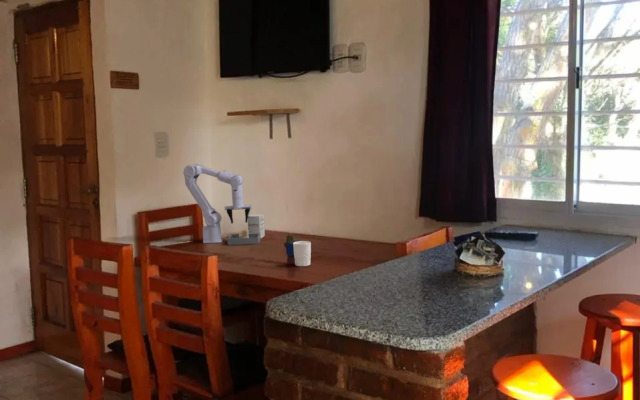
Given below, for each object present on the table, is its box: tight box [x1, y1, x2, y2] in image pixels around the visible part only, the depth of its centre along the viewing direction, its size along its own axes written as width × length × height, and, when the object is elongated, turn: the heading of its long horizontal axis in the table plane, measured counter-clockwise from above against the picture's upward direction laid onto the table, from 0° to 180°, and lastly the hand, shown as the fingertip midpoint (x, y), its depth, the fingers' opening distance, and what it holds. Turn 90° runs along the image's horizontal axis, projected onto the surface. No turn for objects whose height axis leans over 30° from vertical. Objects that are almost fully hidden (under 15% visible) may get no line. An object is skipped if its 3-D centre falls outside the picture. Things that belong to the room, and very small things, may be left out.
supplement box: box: [247, 213, 266, 239], centre depth 364 cm, size 7×7×13 cm
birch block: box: [238, 229, 249, 238], centre depth 348 cm, size 4×4×6 cm
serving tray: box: [227, 233, 262, 246], centre depth 350 cm, size 16×14×4 cm
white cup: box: [292, 240, 312, 267], centre depth 290 cm, size 8×8×10 cm
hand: (239, 222), depth 351 cm, fingers open, 7 cm apart
